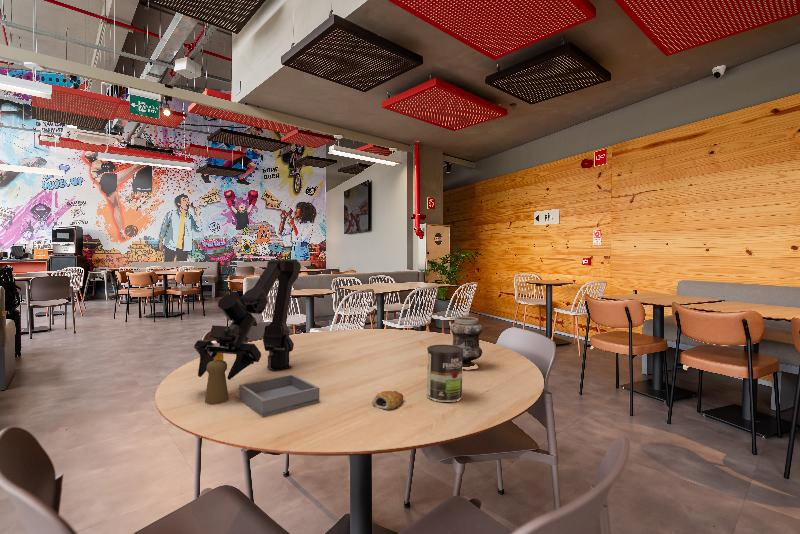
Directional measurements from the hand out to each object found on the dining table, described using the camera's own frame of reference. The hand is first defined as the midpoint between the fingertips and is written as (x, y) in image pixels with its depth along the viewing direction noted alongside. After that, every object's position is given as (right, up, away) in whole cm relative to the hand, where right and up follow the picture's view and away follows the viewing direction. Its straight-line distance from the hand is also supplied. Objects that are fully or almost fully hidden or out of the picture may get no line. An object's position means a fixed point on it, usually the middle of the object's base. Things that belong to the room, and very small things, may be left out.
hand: (213, 377), depth 110 cm
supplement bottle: (-14, -6, +31) cm, 34 cm away
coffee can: (+64, -8, +7) cm, 64 cm away
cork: (0, -7, +2) cm, 7 cm away
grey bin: (+17, -7, +2) cm, 19 cm away
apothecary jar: (+75, -7, +38) cm, 84 cm away
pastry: (+47, -8, 0) cm, 48 cm away
